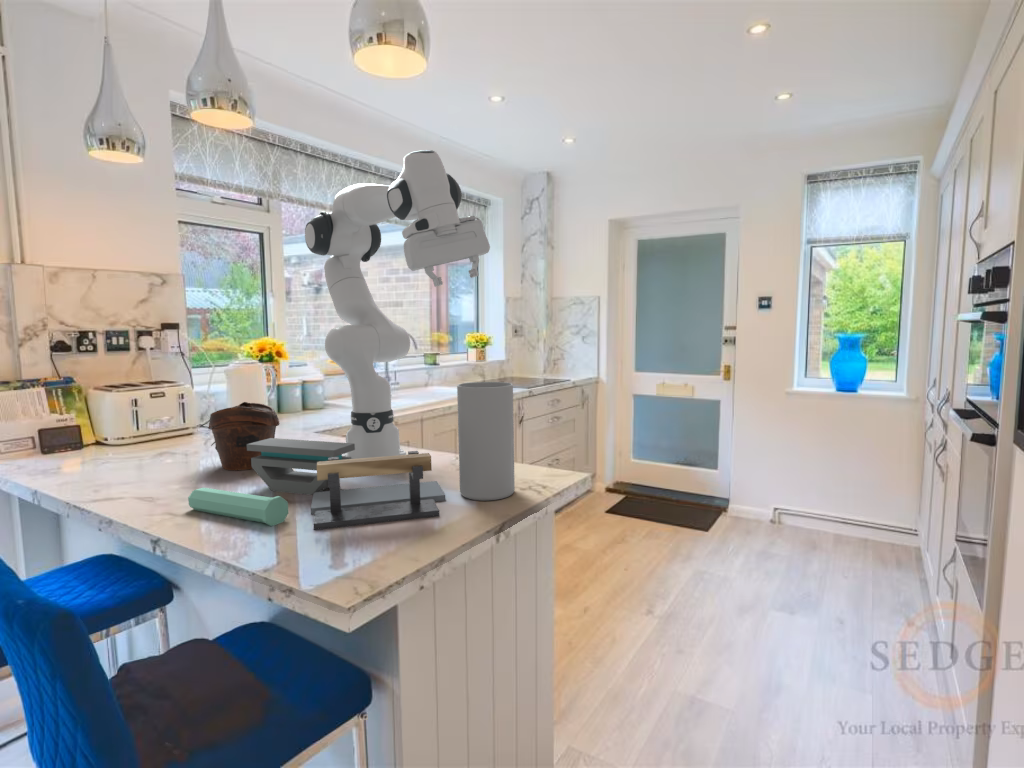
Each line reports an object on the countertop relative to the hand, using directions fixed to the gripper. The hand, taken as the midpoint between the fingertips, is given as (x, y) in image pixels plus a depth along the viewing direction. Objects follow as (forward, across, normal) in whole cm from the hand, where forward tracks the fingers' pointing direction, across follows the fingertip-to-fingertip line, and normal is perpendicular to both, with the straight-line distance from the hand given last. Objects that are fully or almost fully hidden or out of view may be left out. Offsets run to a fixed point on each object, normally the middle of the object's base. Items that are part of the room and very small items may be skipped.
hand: (457, 281), depth 131 cm
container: (+35, +59, -8) cm, 69 cm away
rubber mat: (+42, +32, -4) cm, 53 cm away
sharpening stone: (+38, +44, -22) cm, 62 cm away
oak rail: (+34, +33, +9) cm, 48 cm away
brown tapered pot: (+32, +54, -56) cm, 84 cm away
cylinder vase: (+48, +10, +5) cm, 50 cm away
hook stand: (+42, +35, +8) cm, 55 cm away
